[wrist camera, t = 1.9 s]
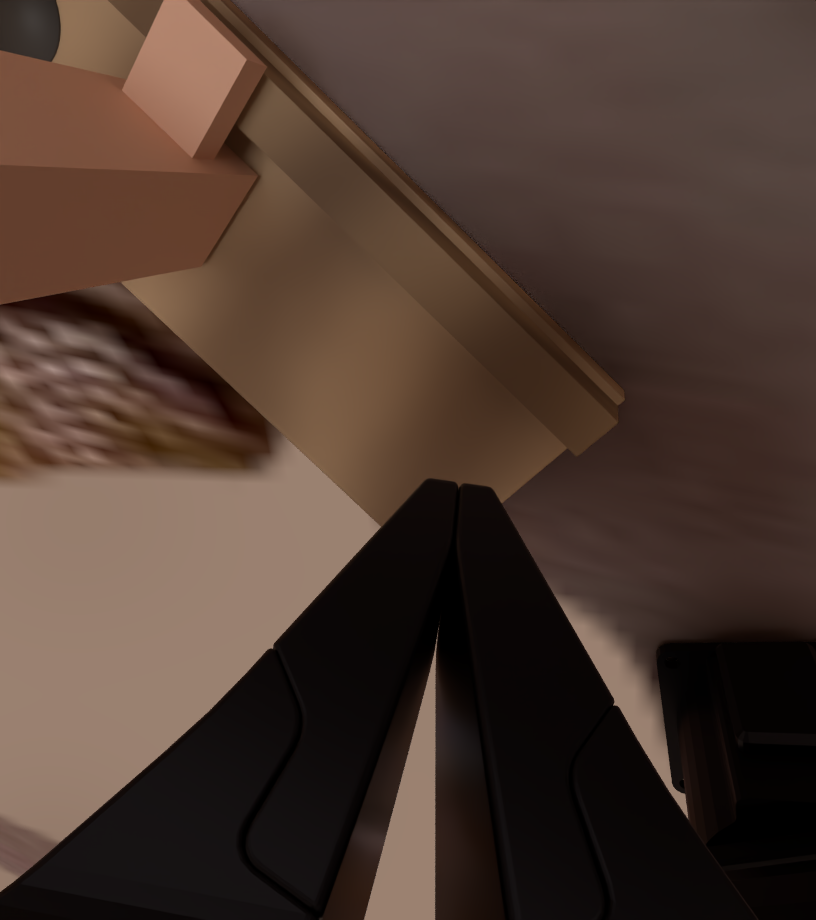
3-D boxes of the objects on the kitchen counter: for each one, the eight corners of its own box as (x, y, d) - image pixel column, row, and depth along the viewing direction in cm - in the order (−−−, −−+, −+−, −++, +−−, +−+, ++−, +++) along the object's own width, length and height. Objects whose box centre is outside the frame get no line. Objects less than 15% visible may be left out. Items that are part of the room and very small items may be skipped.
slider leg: (310, 91, 17) (-8, -13, 8) (201, 266, 20) (-119, 326, 11) (214, -3, 17) (-215, -213, 8) (118, 188, 20) (-273, 186, 11)
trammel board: (623, 390, 19) (638, 597, 9) (432, 553, 23) (304, 812, 14) (-190, -415, 17) (-1240, -1211, 7) (-239, -78, 21) (-947, -301, 12)
